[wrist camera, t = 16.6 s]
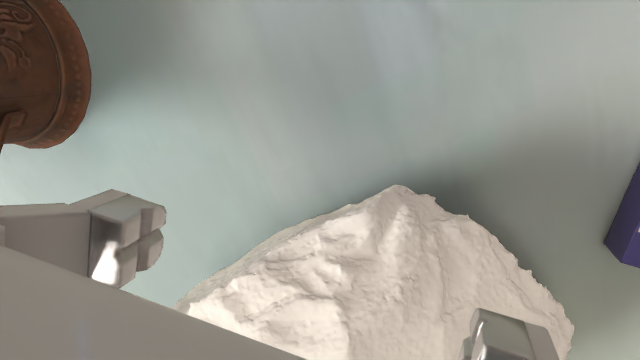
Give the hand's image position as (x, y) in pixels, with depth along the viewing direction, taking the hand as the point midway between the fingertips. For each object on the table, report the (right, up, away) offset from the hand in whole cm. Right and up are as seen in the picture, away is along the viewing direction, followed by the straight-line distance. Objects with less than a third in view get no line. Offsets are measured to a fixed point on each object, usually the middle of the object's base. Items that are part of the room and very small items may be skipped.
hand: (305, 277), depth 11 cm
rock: (+3, -11, +35) cm, 37 cm away
